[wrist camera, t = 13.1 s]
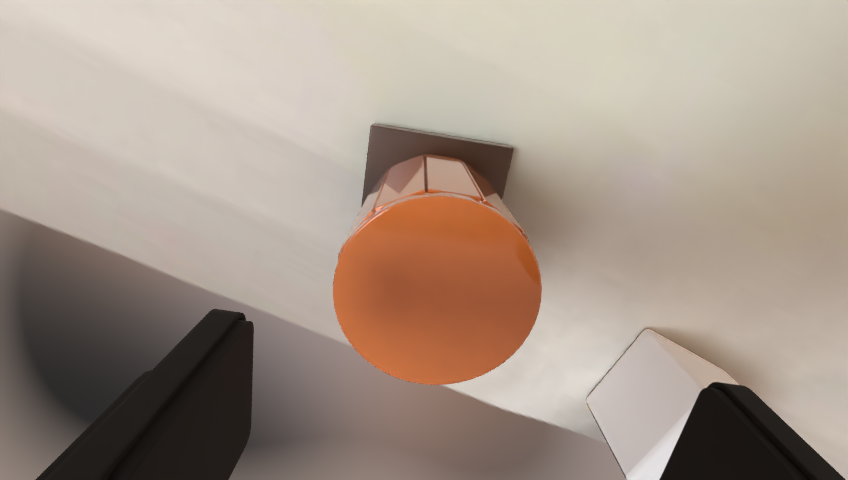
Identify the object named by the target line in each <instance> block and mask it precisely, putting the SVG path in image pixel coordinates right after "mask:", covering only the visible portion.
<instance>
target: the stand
mask: <svg viewBox="0 0 848 480" xmlns="http://www.w3.org/2000/svg"><path fill="white" fill-rule="evenodd" d="M512 153H513V148H512V147H510V146H508V145H505V144H499V143H493V142H487V141H481V140H474V139H468V138H462V137H456V136H450V135H444V134H437V133H431V132H425V131H419V130H413V129H407V128H400V127H394V126H388V125H382V124H376V123H374V124H373V125H371V128H370V136H369V145H368V154H367V163H366V171H365V180H364V189H363V198H362V206H363V204H364V202H365V200H366V198H367V196H368V195H369V193H370V192H371V190H372V189H373V188H374V187H375V185H376V184H377V183H378V181H379V180H380V179H381V178H382V176H383V175H384V174H385V173H386V171H387V170H388V169H389V168H390V169H391V167H392V166H394V165H396V164H399V163H401V162H404V161H407V160H409V159H412V158H414V157H417V156H419V155H422V154H423V155H424V157H425V156H426V154H431V155H437V156H444V157H450V158H456V159H460V160H461V161H464V162H465V163H467V164H468V165H469V166H470V167H471V168H473V169H474V170H475V171H476V172H477V173H479V174H480V175H481V176H482V177H483V178H485V179H486V180H487V181H488V182H489V184H490V185H491V186H492V188H493V189H494V190H495V192H496V193H497V195H498V196H499V197H500V199H501V200H502V198H503V193H504V189H505V185H506V180H507V176H508V171H509V167H510V162H511V158H512ZM361 208H362V207H361Z"/></svg>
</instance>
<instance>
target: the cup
mask: <svg viewBox="0 0 848 480" xmlns="http://www.w3.org/2000/svg"><path fill="white" fill-rule="evenodd" d="M541 293H542V284H541V274H540V270H539V266H538V262H537V260H536V257H535V255H534V252H533V250H532V248H531V247H530V244H529V241H528V238H527V235H526V233H525V232H524V231H523V229H522V228H521V226H520V225H519V224H518V222H517V221H516V219H515V218H514V217H513V215H512V214H511V213H510V211H509V210H508V208H507V207H506V206H505V204H504V203H503V201H502V200H501V199H500V197H499V196H498V195H497V193H496V192H495V190H494V189H493V188H492V186H491V185H490V184H489V182H488V181H487V180H486V179H485V178H483V177H482V176H481V175H480V174H479V173H477V172H476V171H475V170H474V169H473V168H471V167H470V166H469V165H468V164H467V163H465V162H464V161H461V160H460V159H456V158H450V157H444V156H437V155H431V154H426V156H425V157H424V155H423V154H422V155H419V156H417V157H414V158H412V159H409V160H407V161H404V162H401V163H399V164H396V165H394V166H392V167H391V169H390V168H389V169H388V170H387V171H386V173H385V174H384V175H383V176H382V178H381V179H380V180H379V181H378V183H377V184H376V185H375V187H374V188H373V189H372V190H371V192H370V193H369V195H368V196H367V198H366V200H365V202H364V204H363V206H362V208H361V210H360V212H359V214H358V216H357V218H356V220H355V222H354V224H353V226H352V228H351V230H350V232H349V233H348V235H347V237H346V239H345V241H344V243H343V245H342V247H341V250H340V252H339V256H338V264H337V267H336V270H335V275H334V281H333V300H334V308H335V312H336V315H337V319H338V321H339V324H340V326H341V328H342V331H343V332H344V334H345V336H346V337H347V339H348V341H349V342H350V343H351V345H352V346H353V347H354V348H355V350H356V351H357V352H358V353H359V354H360V355H361V356H362V357H363V358H365V359H366V360H367V361H368V362H369V363H371V364H372V365H374V366H375V367H377V368H378V369H380V370H382V371H383V372H385V373H387V374H389V375H392V376H394V377H396V378H399V379H402V380H406V381H409V382H414V383H420V384H431V385H440V384H452V383H459V382H463V381H466V380H470V379H473V378H476V377H478V376H481V375H483V374H485V373H487V372H489V371H491V370H493V369H495V368H496V367H498V366H499V365H501V364H502V363H504V362H505V361H506V360H507V359H508V358H510V357H511V356H512V355H513V354H514V353H515V352H516V351H517V350H518V349H519V347H520V346H521V345H522V344H523V342H524V341H525V340H526V338H527V337H528V335H529V333H530V331H531V330H532V328H533V326H534V324H535V321H536V318H537V315H538V312H539V308H540V303H541Z"/></svg>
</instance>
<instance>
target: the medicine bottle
mask: <svg viewBox="0 0 848 480" xmlns="http://www.w3.org/2000/svg"><path fill="white" fill-rule="evenodd" d="M713 382H721V383H728V384H735V385H739V384H738V383H737V382H736V381H735V380H734V379H733V378H731V377H730V376H729V375H728V374H727V373H726V372H725V371H724V370H723V369H721V368H719V367H717V366H716V365H714V364H712V363H710V362H708V361H707V360H705V359H703V358H701V357H699V356H697V355H696V354H694V353H692V352H690V351H688V350H687V349H685V348H683V347H681V346H679V345H678V344H676V343H674V342H672V341H670V340H669V339H667V338H665V337H663V336H661V335H659V334H658V333H656V332H654V331H652V330H650V329H645V330H644V331H643V332H642V333H641V334H640V336H639V337H638V338H637V339H636V340H635V341H634V343H633V344H632V345H631V346H630V347H629V349H628V350H627V351H626V352H625V353H624V354H623V356H622V357H621V358H620V359H619V360H618V362H617V363H616V364H615V365H614V366H613V368H612V369H611V370H610V371H609V372H608V373H607V375H606V376H605V377H604V378H603V379H602V381H601V382H600V383H599V384H598V385H597V387H596V388H595V389H594V390H593V391H592V392H591V394H590V395H589V396H588V397H587V399H586V403H587V405H588V407H589V409H590V411H591V413H592V415H593V417H594V419H595V420H596V422H597V424H598V426H599V428H600V430H601V432H602V434H603V436H604V438H605V440H606V441H607V443H608V445H609V447H610V449H611V451H612V453H613V455H614V457H615V459H616V461H617V462H618V464H619V466H620V468H621V470H622V472H623V474H624V476H625V478H626V479H627V480H660V478H661V475H662V473H663V471H664V469H665V467H666V465H667V462H668V460H669V458H670V456H671V454H672V451H673V449H674V447H675V445H676V443H677V441H678V438H679V436H680V434H681V432H682V430H683V428H684V425H685V423H686V421H687V419H688V417H689V415H690V412H691V410H692V408H693V406H694V404H695V402H696V399H697V397H698V395H699V393H700V392H701V390H702V389H704V388H707V387H708V385H710V384H711V383H713Z"/></svg>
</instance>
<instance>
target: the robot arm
mask: <svg viewBox="0 0 848 480" xmlns="http://www.w3.org/2000/svg"><path fill="white" fill-rule="evenodd" d="M253 334H254V327H253V323H252V322H251V321H246V318H245V315H244V314H243V313H240V312H233V311H226V310H218V309H213V310H211V311H210V312H209V313H208V314H207V315H206V316H205V317H204V318H203V319H202V320H201V321H200V322H199V323H198V324H197V325H196V326H195V327H194V328H193V329H192V330H191V331H190V332H189V333H188V334H187V336H185V337H184V338H183V339H182V340H181V341H180V342H179V343H178V344H177V345H176V346H175V348H174V349H173V350H172V351H171V352H170V353H169V354H168V355H167V356H166V357H165V358H164V359H163V360H162V361H161V362H160V363H159V364H158V365H157V366H156V367H155V368H154V369H153V370H150V371H147V372H145V373H144V374H142V375H141V376H140V377H139V378H137V379H136V380H135V381H134V382H133V384H132V385H130V386H129V388H127V389H126V390H125V391H124V392H123V393H122V394H121V395H120V396H119V397H118V398H117V399H116V400H115V401H114V402H113V403H112V404H111V405H110V406H109V407H108V408H107V409H106V410H105V411H104V412H103V413H102V414H101V415H100V416H99V417H98V418H97V419H96V420H95V421H94V422H93V423H92V424H91V425H90V426H89V427H88V428H87V429H86V430H85V431H84V432H83V433H82V434H81V435H80V436H79V437H78V438H77V439H76V440H75V441H74V442H73V443H72V444H71V445H70V446H69V447H68V448H67V449H66V450H65V451H64V452H63V453H62V454H61V455H60V456H59V457H58V458H57V459H56V460H55V461H54V462H53V463H52V464H51V465H50V466H49V467H48V468H47V469H46V470H45V471H44V472H43V473H42V474H41V475H40V476H39V477H38V478H37V479H36V480H228V479H229V477H230V475H231V474H232V472H233V470H234V468H235V466H236V464H237V462H238V460H239V458H240V456H241V454H242V452H243V450H244V448H245V446H246V444H247V441H248V438H249V435H250V430H251V409H252V408H251V407H252V371H253V369H252V368H253ZM660 480H845V479H844V478H843V477H842V476H841V475H840V474H839V473H838V472H837V471H836V470H835V469H834V468H833V467H832V466H831V465H830V464H828V463H827V462H826V461H825V460H824V459H823V458H822V457H821V456H820V455H819V454H818V453H817V452H816V451H815V450H814V449H813V448H812V447H811V446H810V445H808V444H807V443H806V442H805V441H804V440H803V439H802V438H801V437H800V436H799V435H798V434H797V433H796V432H795V431H794V430H793V429H792V428H791V427H789V426H788V425H787V424H786V423H785V422H784V421H783V420H782V419H781V418H780V417H779V416H778V415H777V414H776V413H775V412H774V411H773V410H772V409H771V408H769V407H768V406H767V405H766V404H765V403H764V402H763V401H762V400H761V399H760V398H759V397H758V396H757V395H756V394H755V393H754V392H753V391H752V390H750V389H749V388H747V387H745V386H742V385H735V384H728V383H721V382H713V383H711V384H710V385H708V387H707V388H704V389H702V390H701V392H700V393H699V395H698V397H697V399H696V402H695V404H694V406H693V408H692V410H691V412H690V415H689V417H688V419H687V421H686V423H685V425H684V428H683V430H682V432H681V434H680V436H679V438H678V441H677V443H676V445H675V447H674V449H673V451H672V454H671V456H670V458H669V460H668V462H667V465H666V467H665V469H664V471H663V473H662V475H661V478H660Z"/></svg>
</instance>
